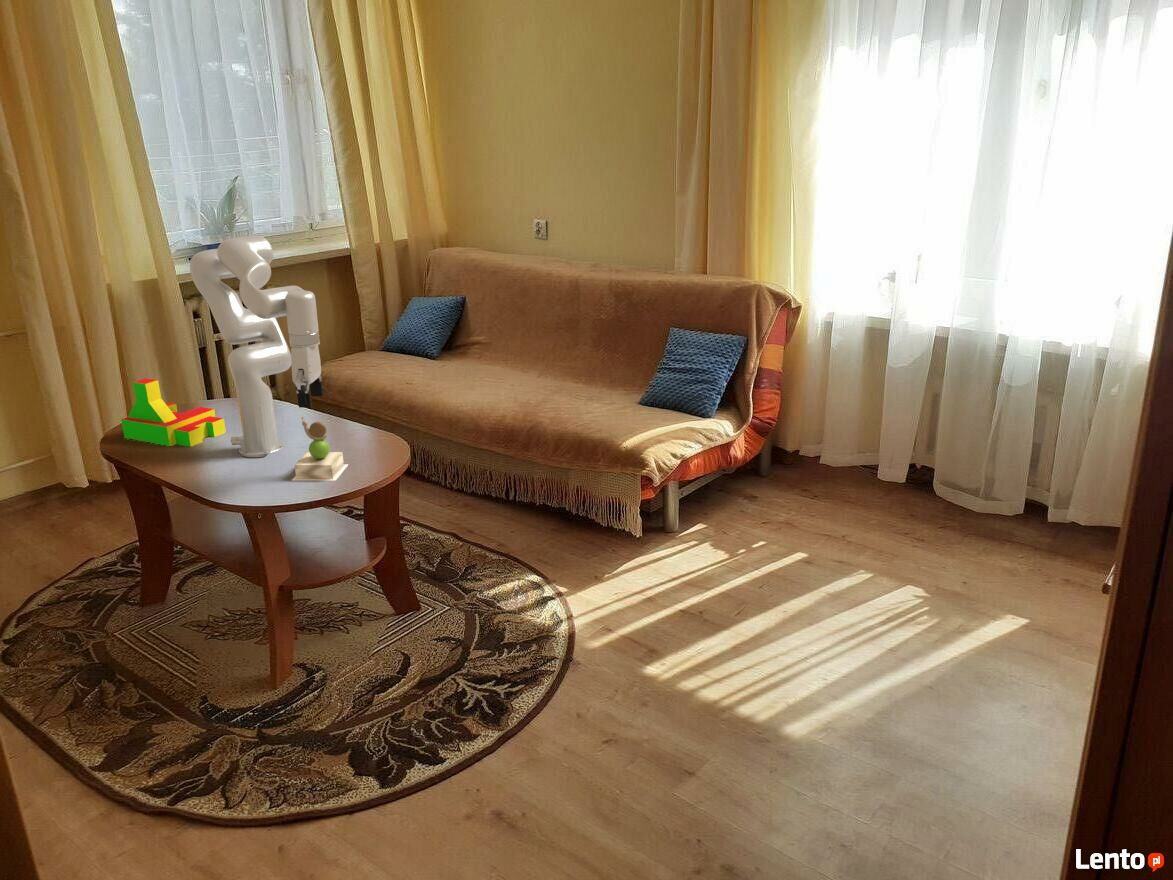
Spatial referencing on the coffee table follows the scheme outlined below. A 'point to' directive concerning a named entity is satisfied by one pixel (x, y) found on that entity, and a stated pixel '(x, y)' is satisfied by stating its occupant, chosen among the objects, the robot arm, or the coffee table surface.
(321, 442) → the snail figurine
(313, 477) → the pedestal block
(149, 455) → the coffee table surface
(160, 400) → the building blocks toy
